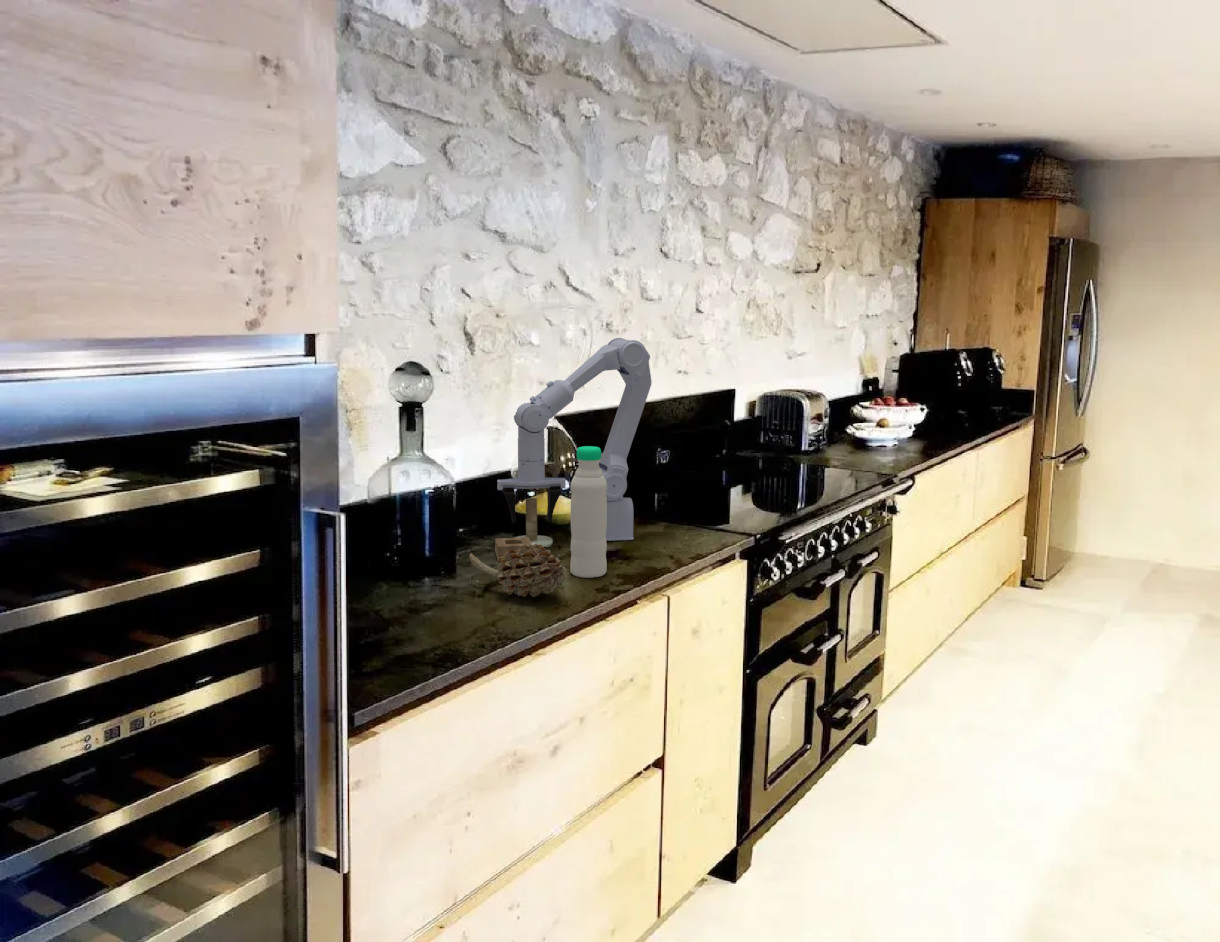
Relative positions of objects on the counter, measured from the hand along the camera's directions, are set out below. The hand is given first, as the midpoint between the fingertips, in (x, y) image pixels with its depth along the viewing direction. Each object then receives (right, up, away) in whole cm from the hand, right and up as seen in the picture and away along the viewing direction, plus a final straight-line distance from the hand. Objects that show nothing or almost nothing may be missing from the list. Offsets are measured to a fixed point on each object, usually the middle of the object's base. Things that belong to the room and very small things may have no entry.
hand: (531, 521), depth 235 cm
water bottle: (+13, -9, -23) cm, 28 cm away
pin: (0, -4, +1) cm, 4 cm away
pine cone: (-1, -12, -36) cm, 38 cm away
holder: (-3, -7, -10) cm, 12 cm away
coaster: (0, -5, +1) cm, 5 cm away
